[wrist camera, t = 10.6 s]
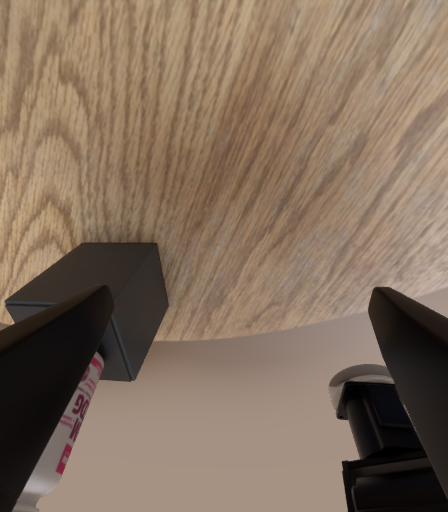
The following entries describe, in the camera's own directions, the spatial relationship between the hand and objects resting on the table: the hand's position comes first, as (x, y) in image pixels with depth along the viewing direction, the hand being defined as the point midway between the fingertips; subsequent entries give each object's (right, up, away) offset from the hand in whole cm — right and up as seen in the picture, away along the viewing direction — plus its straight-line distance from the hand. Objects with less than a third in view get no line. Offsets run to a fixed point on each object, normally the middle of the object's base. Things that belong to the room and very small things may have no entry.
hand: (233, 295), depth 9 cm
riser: (-9, 0, +16) cm, 18 cm away
